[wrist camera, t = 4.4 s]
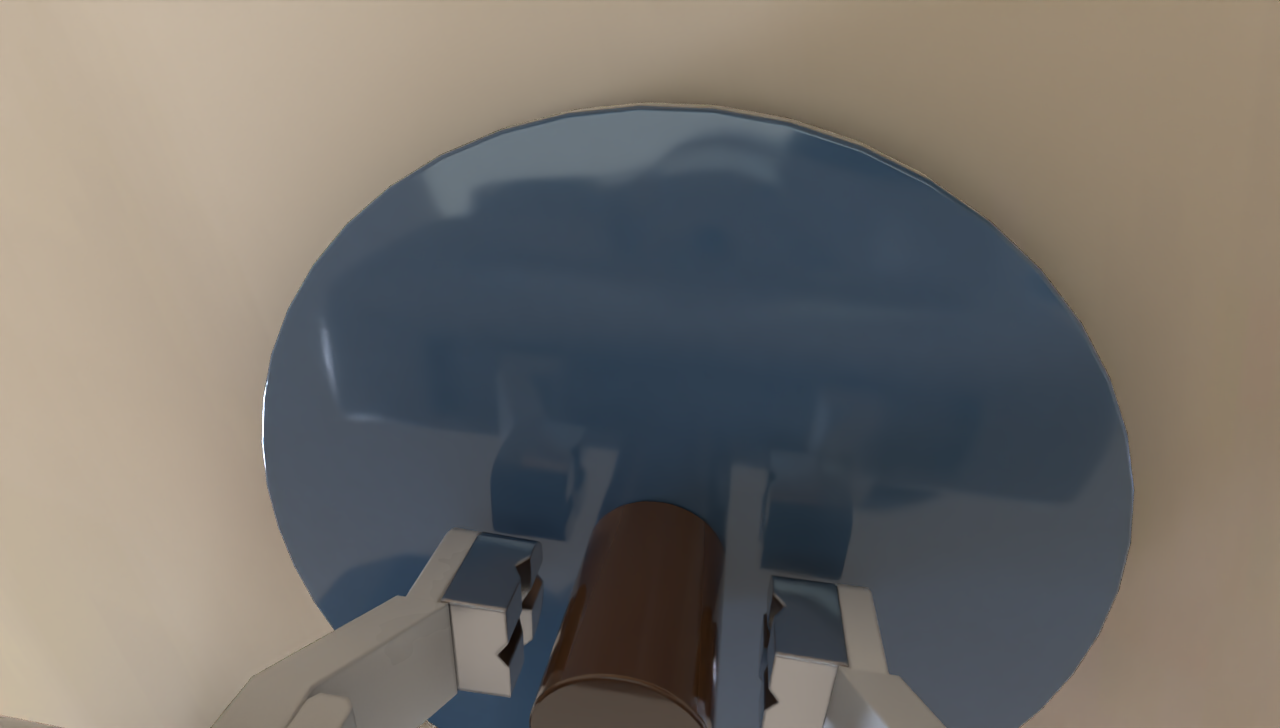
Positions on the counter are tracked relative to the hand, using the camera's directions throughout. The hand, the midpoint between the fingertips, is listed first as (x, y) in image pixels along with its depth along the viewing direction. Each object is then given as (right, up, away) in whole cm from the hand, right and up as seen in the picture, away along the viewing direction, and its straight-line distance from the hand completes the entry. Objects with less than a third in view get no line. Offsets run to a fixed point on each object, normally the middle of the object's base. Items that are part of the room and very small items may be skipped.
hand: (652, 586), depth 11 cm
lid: (0, +1, +1) cm, 1 cm away
